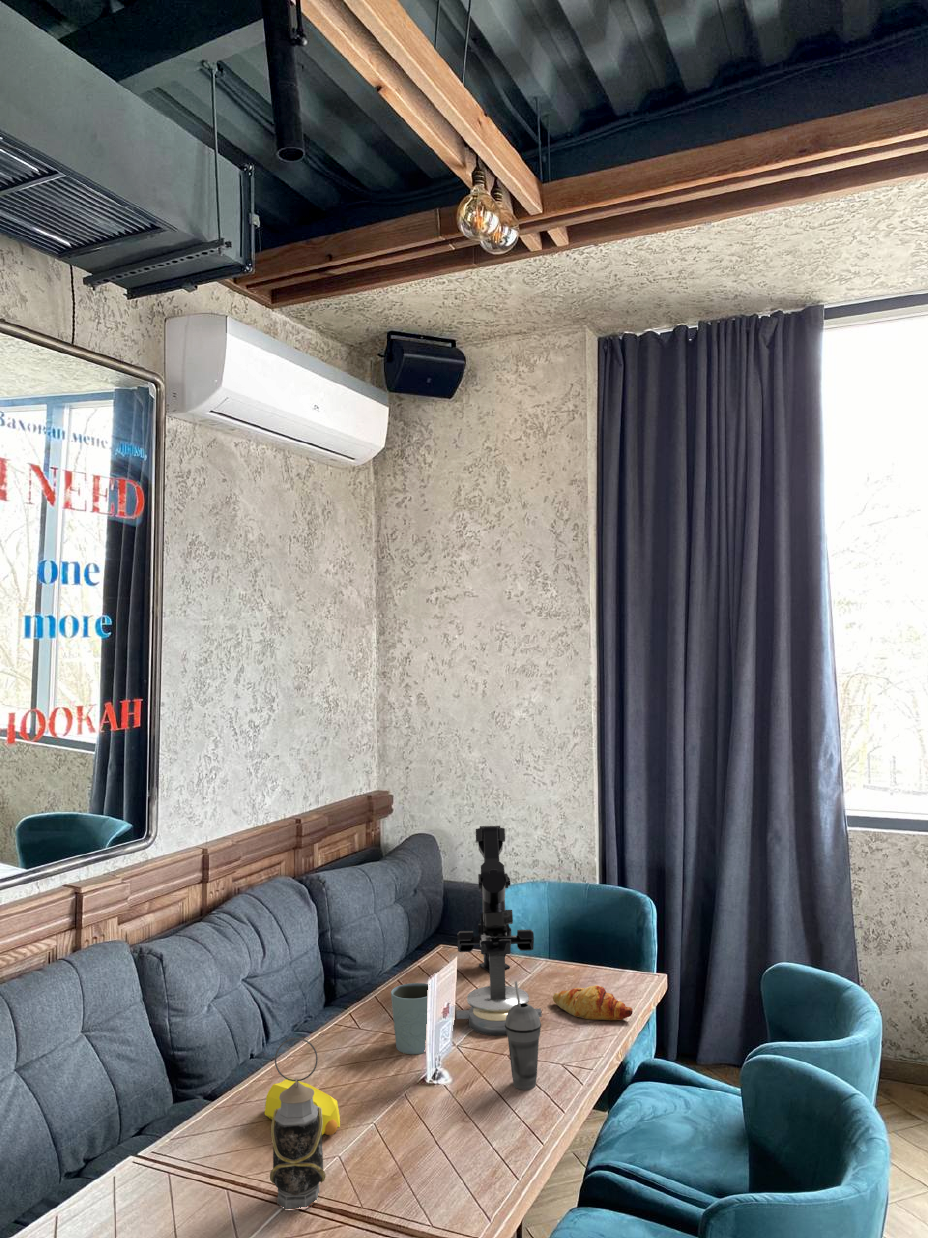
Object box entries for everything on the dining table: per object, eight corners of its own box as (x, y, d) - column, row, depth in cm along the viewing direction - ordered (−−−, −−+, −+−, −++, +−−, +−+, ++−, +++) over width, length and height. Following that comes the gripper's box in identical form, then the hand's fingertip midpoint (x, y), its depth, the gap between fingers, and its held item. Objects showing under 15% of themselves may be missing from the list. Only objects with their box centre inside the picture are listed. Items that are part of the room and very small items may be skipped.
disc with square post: (467, 989, 226) (466, 945, 227) (526, 988, 226) (525, 943, 227) (467, 1012, 212) (466, 965, 212) (530, 1011, 212) (529, 963, 212)
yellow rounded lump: (287, 1102, 178) (254, 1118, 172) (286, 1067, 179) (254, 1081, 173) (351, 1131, 167) (318, 1149, 161) (350, 1093, 167) (317, 1110, 161)
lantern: (329, 1183, 150) (326, 1027, 151) (323, 1213, 142) (320, 1048, 143) (275, 1186, 149) (272, 1029, 150) (266, 1216, 141) (263, 1050, 142)
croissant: (548, 1023, 222) (538, 998, 219) (565, 991, 229) (556, 967, 227) (628, 1040, 210) (619, 1014, 207) (644, 1006, 217) (635, 980, 214)
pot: (457, 1012, 220) (456, 1000, 220) (539, 1010, 220) (538, 998, 220) (456, 1037, 206) (456, 1023, 206) (544, 1034, 206) (543, 1021, 206)
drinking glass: (417, 1060, 195) (416, 1002, 196) (382, 1048, 201) (380, 992, 202) (447, 1043, 203) (446, 988, 204) (412, 1033, 209) (411, 979, 210)
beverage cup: (540, 1094, 178) (537, 989, 179) (503, 1091, 180) (500, 987, 181) (545, 1077, 185) (542, 976, 186) (509, 1075, 187) (506, 974, 188)
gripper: (456, 898, 227) (457, 958, 216) (532, 896, 227) (536, 956, 216) (457, 921, 235) (458, 981, 223) (531, 920, 235) (535, 979, 223)
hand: (496, 974), depth 221 cm, fingers closed, pressing on disc with square post
